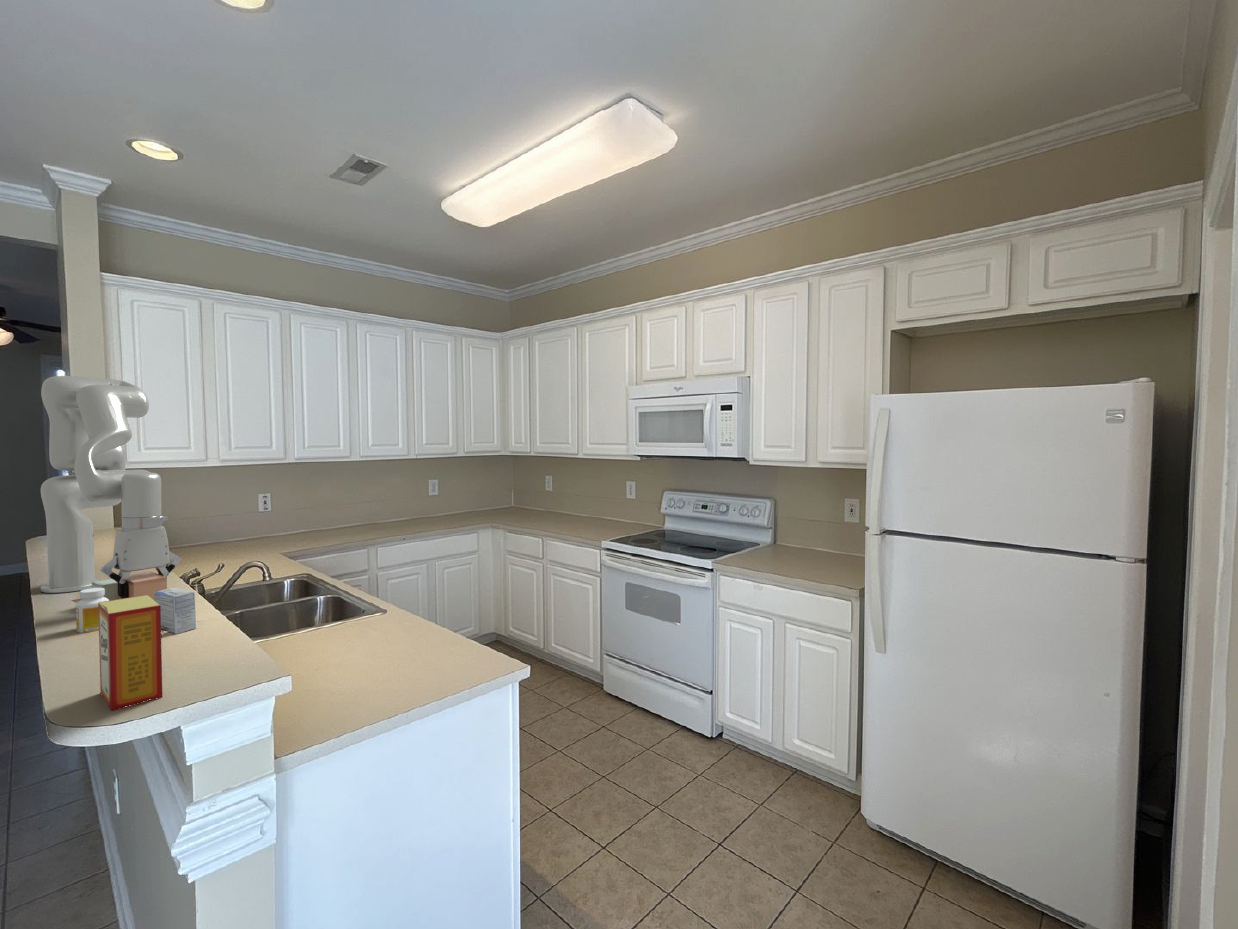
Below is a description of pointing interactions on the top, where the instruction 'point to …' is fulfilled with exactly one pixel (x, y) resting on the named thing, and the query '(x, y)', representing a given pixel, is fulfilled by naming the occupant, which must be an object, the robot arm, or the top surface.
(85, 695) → the top surface
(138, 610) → the baking soda box
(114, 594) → the sage green box
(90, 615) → the supplement bottle
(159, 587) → the terracotta box
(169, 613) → the medicine box
